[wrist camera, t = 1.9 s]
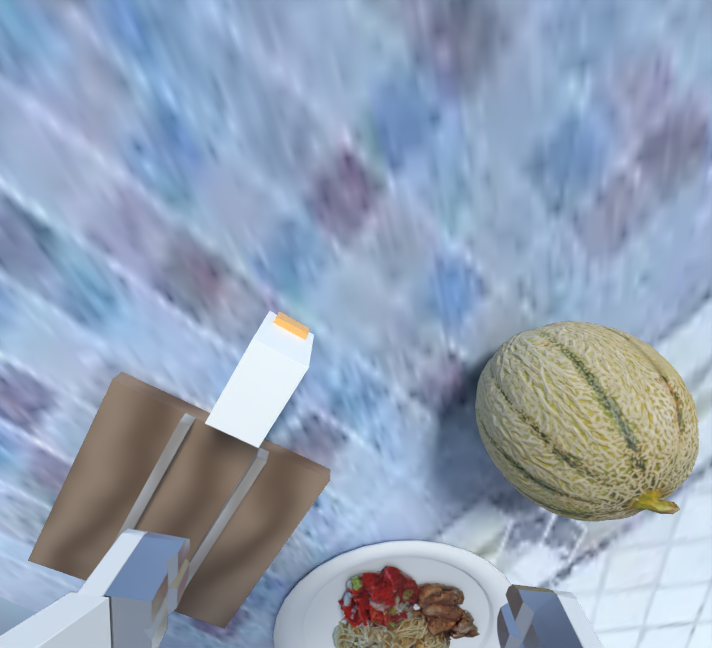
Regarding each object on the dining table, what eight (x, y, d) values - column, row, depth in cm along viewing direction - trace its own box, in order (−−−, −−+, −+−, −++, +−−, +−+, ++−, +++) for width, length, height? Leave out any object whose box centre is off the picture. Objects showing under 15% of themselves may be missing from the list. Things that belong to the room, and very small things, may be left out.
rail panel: (38, 547, 40) (16, 574, 37) (122, 372, 34) (102, 387, 31) (228, 614, 45) (220, 642, 42) (330, 469, 39) (329, 491, 36)
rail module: (229, 380, 35) (204, 423, 29) (272, 305, 33) (256, 331, 26) (272, 402, 36) (258, 447, 29) (317, 329, 34) (312, 361, 27)
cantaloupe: (509, 273, 33) (638, 329, 19) (634, 341, 36) (829, 436, 22) (424, 406, 37) (479, 535, 23) (543, 458, 40) (658, 604, 25)
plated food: (405, 723, 54) (409, 756, 51) (227, 641, 47) (218, 673, 43) (563, 602, 47) (580, 631, 44) (385, 484, 40) (389, 509, 37)
